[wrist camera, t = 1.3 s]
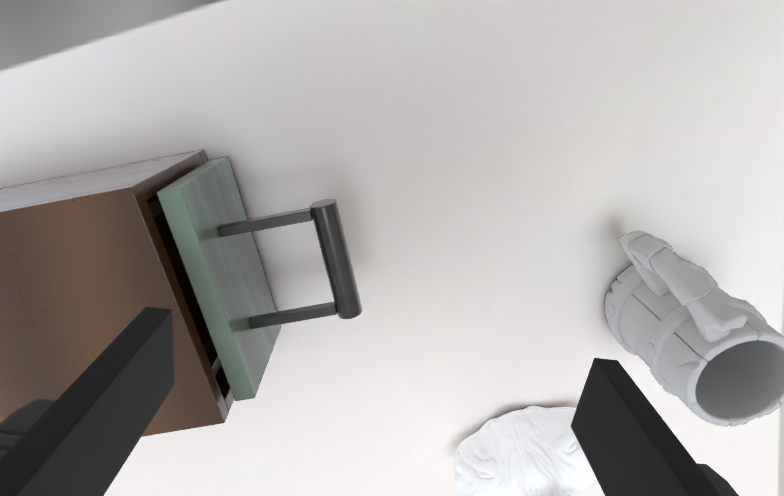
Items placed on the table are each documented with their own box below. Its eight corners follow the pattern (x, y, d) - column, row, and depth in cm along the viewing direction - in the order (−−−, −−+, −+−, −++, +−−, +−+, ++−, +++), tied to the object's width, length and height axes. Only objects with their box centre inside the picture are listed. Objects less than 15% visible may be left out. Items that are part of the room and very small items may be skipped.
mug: (624, 359, 38) (726, 486, 26) (558, 243, 34) (645, 333, 23) (717, 312, 36) (867, 424, 25) (659, 184, 32) (806, 250, 21)
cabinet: (204, 149, 31) (130, 187, 22) (264, 330, 36) (224, 423, 27) (-27, 193, 32) (-192, 248, 22) (63, 365, 37) (-41, 467, 28)
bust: (449, 440, 43) (494, 589, 37) (431, 428, 37) (482, 606, 31) (579, 397, 42) (647, 545, 36) (584, 378, 35) (668, 554, 29)
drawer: (333, 136, 30) (317, 161, 22) (372, 311, 34) (370, 379, 27) (9, 198, 31) (-108, 242, 23) (89, 360, 35) (13, 439, 28)
